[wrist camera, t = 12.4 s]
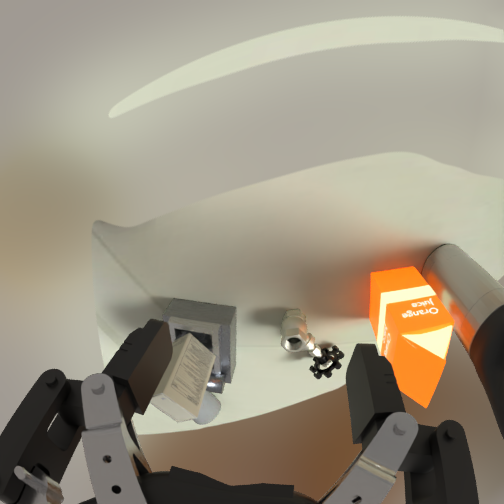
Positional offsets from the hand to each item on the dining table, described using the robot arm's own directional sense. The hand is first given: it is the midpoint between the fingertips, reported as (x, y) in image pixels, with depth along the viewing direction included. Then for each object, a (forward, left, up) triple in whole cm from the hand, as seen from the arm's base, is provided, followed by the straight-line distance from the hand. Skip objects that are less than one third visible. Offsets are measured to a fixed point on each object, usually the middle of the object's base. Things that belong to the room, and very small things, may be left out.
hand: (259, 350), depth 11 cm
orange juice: (-19, +13, -28) cm, 36 cm away
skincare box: (+11, +23, -22) cm, 34 cm away
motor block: (+12, +25, -28) cm, 39 cm away
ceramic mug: (+15, +44, -28) cm, 54 cm away
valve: (-6, +22, -28) cm, 36 cm away
